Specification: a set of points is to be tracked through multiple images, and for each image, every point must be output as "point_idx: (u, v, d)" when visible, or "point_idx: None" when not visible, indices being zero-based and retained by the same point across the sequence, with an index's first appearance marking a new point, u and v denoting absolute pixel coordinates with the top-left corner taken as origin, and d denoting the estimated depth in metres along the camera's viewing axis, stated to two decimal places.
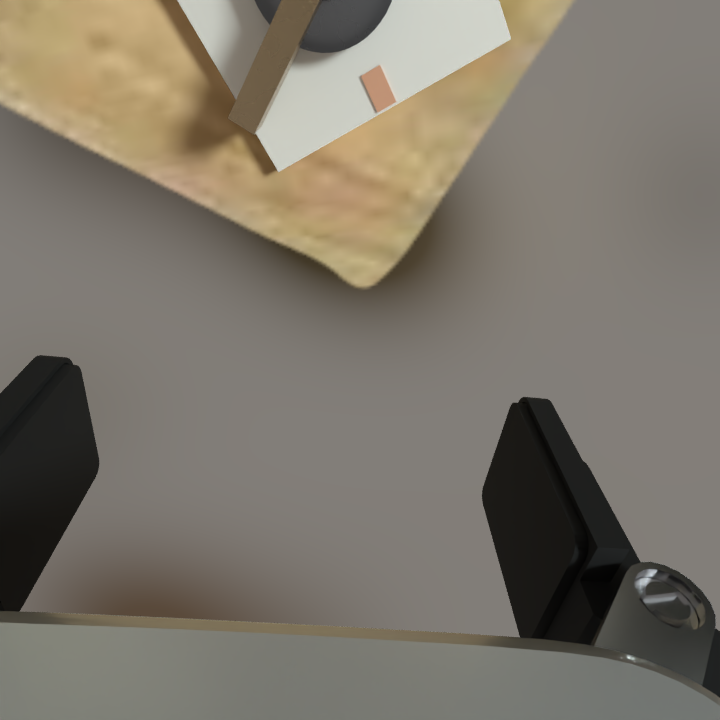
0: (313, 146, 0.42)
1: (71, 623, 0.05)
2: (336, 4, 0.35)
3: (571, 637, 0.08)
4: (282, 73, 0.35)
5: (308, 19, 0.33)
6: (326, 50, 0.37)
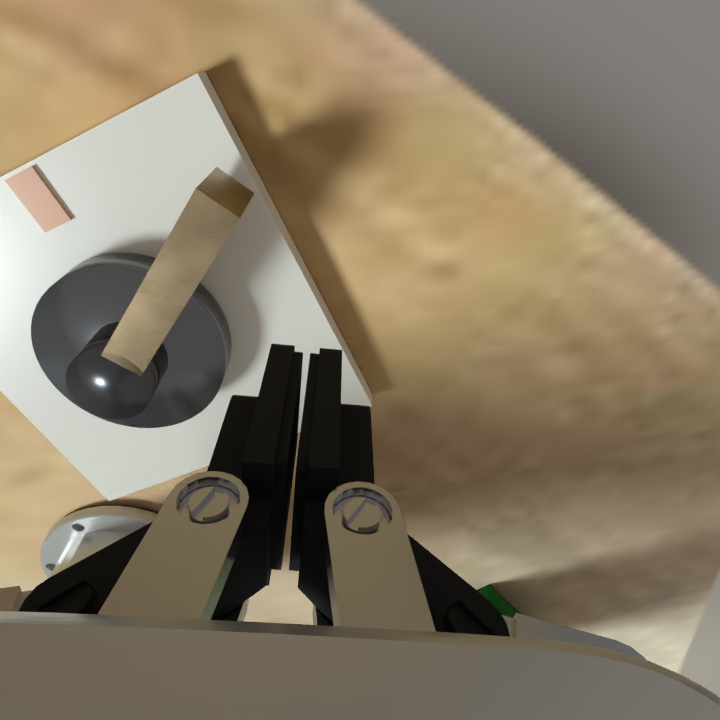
0: (135, 116, 0.24)
1: (71, 623, 0.05)
2: (106, 317, 0.27)
3: (300, 554, 0.09)
4: (149, 273, 0.23)
5: (115, 333, 0.24)
6: (112, 270, 0.26)
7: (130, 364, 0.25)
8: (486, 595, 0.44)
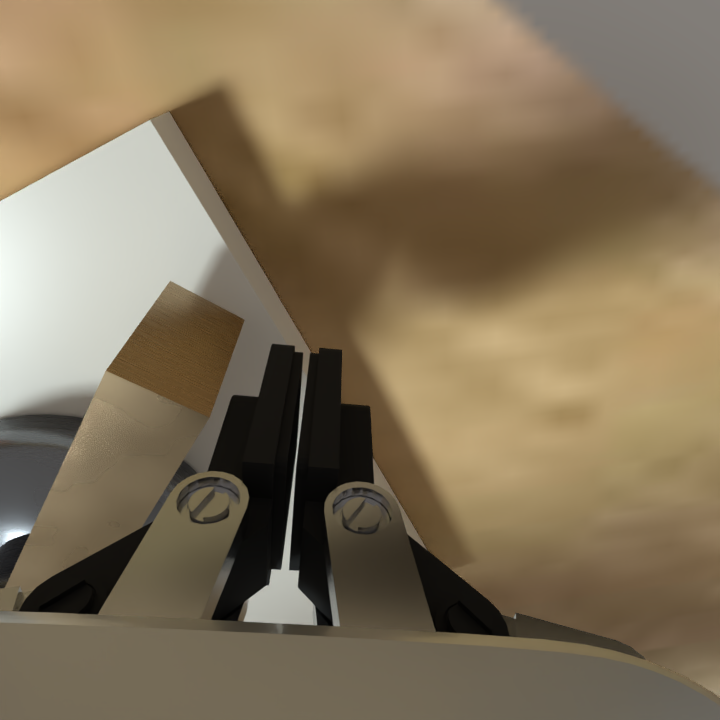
0: (38, 199, 0.13)
1: (70, 623, 0.05)
2: (10, 528, 0.16)
3: (300, 554, 0.09)
4: (42, 516, 0.11)
5: None
6: (4, 463, 0.14)
7: None
8: None
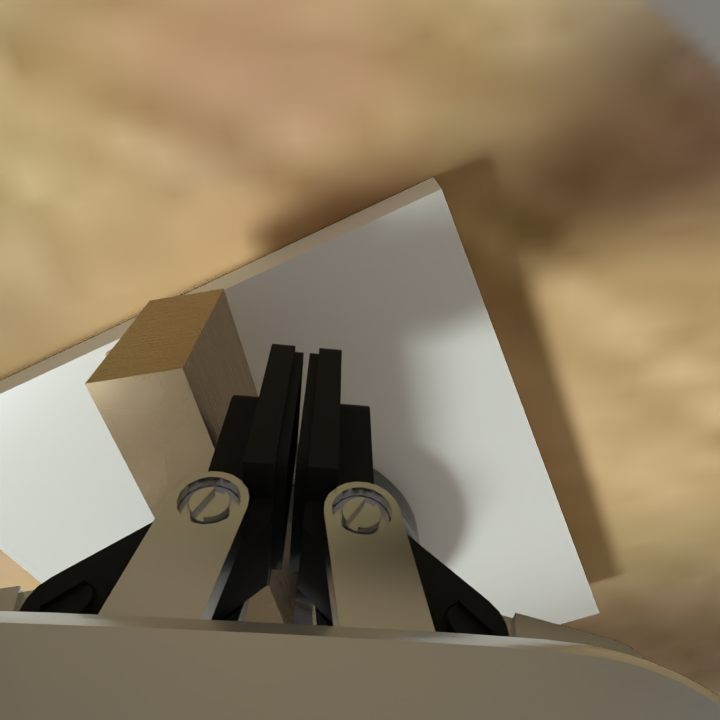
0: (325, 256, 0.14)
1: (71, 622, 0.05)
2: None
3: (300, 554, 0.09)
4: None
5: None
6: None
7: None
8: None
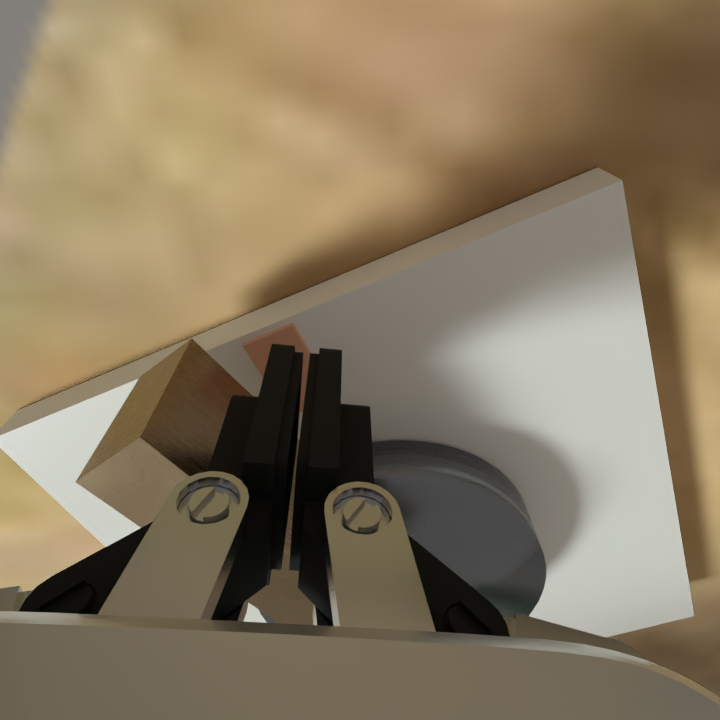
0: (488, 248, 0.14)
1: (71, 623, 0.05)
2: None
3: (300, 554, 0.09)
4: None
5: None
6: None
7: None
8: None
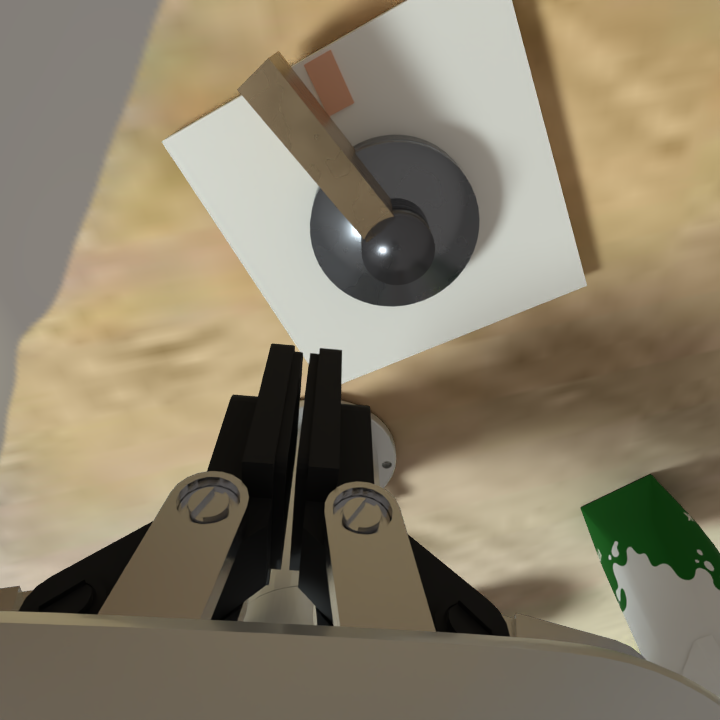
0: None
1: (71, 623, 0.05)
2: (354, 234, 0.31)
3: (300, 554, 0.09)
4: (303, 165, 0.26)
5: (349, 220, 0.27)
6: (315, 208, 0.30)
7: (382, 222, 0.28)
8: (649, 482, 0.47)
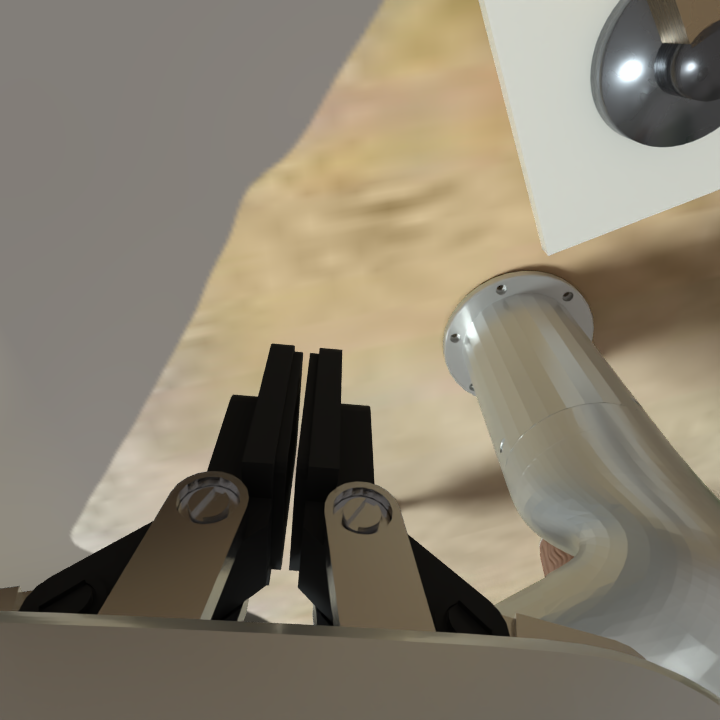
0: None
1: (70, 624, 0.05)
2: (649, 58, 0.31)
3: (300, 554, 0.09)
4: None
5: (684, 19, 0.28)
6: (620, 25, 0.30)
7: (714, 25, 0.28)
8: None
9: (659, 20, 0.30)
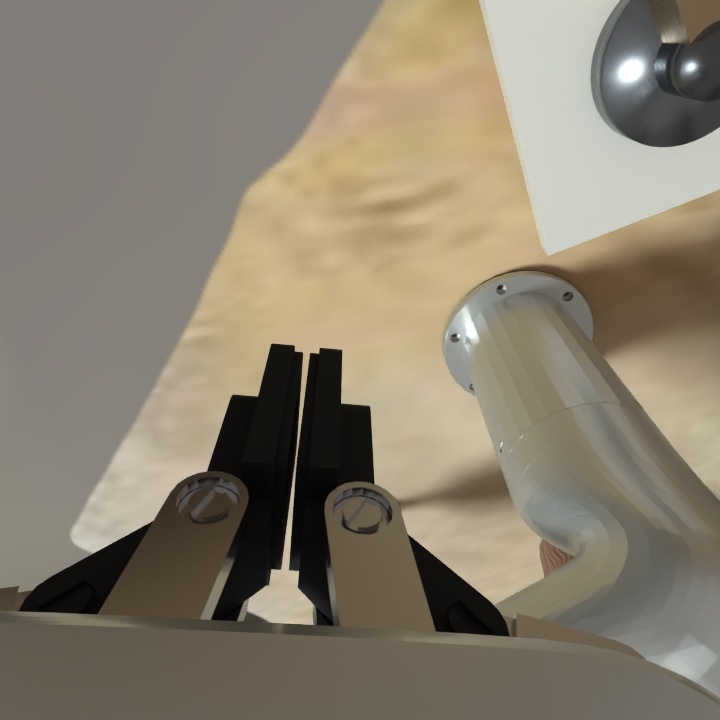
0: None
1: (71, 622, 0.05)
2: (649, 58, 0.31)
3: (300, 554, 0.09)
4: None
5: (684, 19, 0.28)
6: (620, 25, 0.30)
7: (714, 25, 0.28)
8: None
9: (659, 20, 0.30)
